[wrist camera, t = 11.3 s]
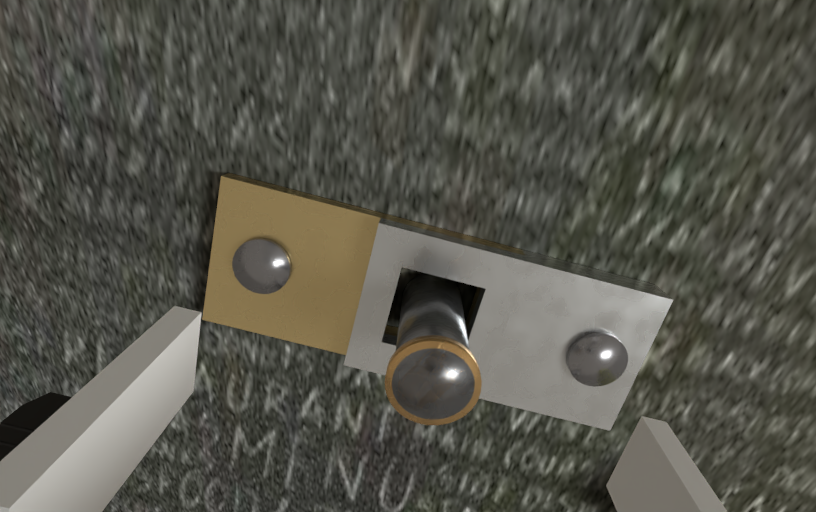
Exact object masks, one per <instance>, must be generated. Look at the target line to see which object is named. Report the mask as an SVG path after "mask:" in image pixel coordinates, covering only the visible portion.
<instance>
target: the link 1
mask: <svg viewBox="0 0 816 512" xmlns="http://www.w3.org/2000/svg"><path fill="white" fill-rule="evenodd" d="M381 218H383V219H387V220H391V221H395V222H399V223H403V224H406V225H410V226H414V227H418V228H422V229H425V230H429V231H433V232H437V233H441V234H445V235H448V236H452V237H456V238H460V239H464V240H468V241H471V242H475V243H479V244H483V245H487V246H490V247H494V248H498V249H502V250H506V251H510V252H513V253H517V254H521V255H525V254H524V252H523V251H522V249H518V248H514V247H510V246H507V245H503V244H499V243H495V242H491V241H488V240H484V239H480V238H476V237H472V236H468V235H465V234H461V233H457V232H453V231H449V230H446V229H442V228H438V227H434V226H430V225H426V224H423V223H419V222H415V221H411V220H407V219H404V218H400V217H396V216H392V215H388V214H384V213H381V212H377V211H373V210H369V209H365V208H362V207H358V206H354V205H350V204H346V203H342V202H339V201H335V200H331V199H327V198H323V197H320V196H316V195H312V194H308V193H304V192H300V191H297V190H293V189H289V188H285V187H281V186H278V185H274V184H270V183H266V182H262V181H258V180H255V179H251V178H247V177H243V176H239V175H236V174H232V173H227V174H225V175H222V176H221V180H220V188H219V196H218V203H217V211H216V218H215V226H214V234H213V241H212V249H211V257H210V264H209V272H208V280H207V287H206V295H205V302H204V310H203V318H202V320H206V321H210V322H214V323H218V324H222V325H226V326H230V327H235V328H239V329H243V330H247V331H251V332H255V333H259V334H263V335H267V336H271V337H275V338H279V339H283V340H287V341H291V342H295V343H299V344H303V345H307V346H311V347H315V348H319V349H323V350H328V351H332V352H336V353H340V354H344V355H346V354H347V350H348V346H349V342H350V337H351V333H352V329H353V325H354V321H355V317H356V313H357V309H358V305H359V301H360V297H361V293H362V289H363V285H364V281H365V277H366V273H367V269H368V265H369V261H370V257H371V253H372V249H373V245H374V241H375V237H376V233H377V228H378V224H379V221H380V219H381ZM480 290H481V287H477V289H476V292H475V295H474V298H473V301H472V304H471V307H470V310H469V313H468V316H467V319H466V322H465V324H466V331H467V329H468V326H469V323H470V320H471V317H472V314H473V311H474V308H475V305H476V302H477V299H478V296H479V293H480ZM384 333H386V334H389V335H393V336H398V328H397V327H393V326H389V325H386V327H385V331H384Z"/></svg>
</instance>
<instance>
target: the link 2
mask: <svg viewBox="0 0 816 512" xmlns="http://www.w3.org/2000/svg"><path fill="white" fill-rule="evenodd" d="M522 251H523V252H524V254H525V255H521V254H517V253H513V252H510V251H506V250H502V249H498V248H494V247H490V246H487V245H483V244H479V243H475V242H471V241H468V240H464V239H460V238H456V237H452V236H448V235H445V234H441V233H437V232H433V231H429V230H425V229H422V228H418V227H414V226H410V225H406V224H403V223H399V222H395V221H391V220H387V219H383V218H381V219H380V221H379V224H378V228H377V233H376V237H375V241H374V245H373V249H372V253H371V257H370V261H369V265H368V269H367V273H366V277H365V281H364V285H363V289H362V293H361V297H360V301H359V305H358V309H357V313H356V317H355V321H354V325H353V329H352V333H351V337H350V342H349V346H348V350H347V354H346V358H345V362H344V365H346V366H350V367H354V368H358V369H362V370H366V371H370V372H374V373H378V374H382V375H386V370H387V366H388V363H389V360H390V358H391V357H392V355H393V354H394V352H395V351H396V344H397V336H393V335H389V334H386V333H384V331H385V327H386V323H387V320H388V316H389V312H390V309H391V305H392V301H393V298H394V294H395V290H396V287H397V283H398V279H399V276H400V272H401V268H402V267H403V268H407V269H411V270H415V271H419V272H423V273H427V274H430V275H434V276H438V277H442V278H446V279H450V280H454V281H458V282H462V283H465V284H469V285H473V286H477V287H481V290H480V293H479V296H478V299H477V302H476V305H475V308H474V311H473V314H472V317H471V320H470V323H469V326H468V329H467V337H468V343H469V349H470V351H471V353H472V354H473V355H474V357H475V359H476V360H477V363H478V365H479V369H480V375H481V380H482V387H481V393H480V396H479V398H480V399H484V400H488V401H492V402H496V403H500V404H504V405H508V406H512V407H516V408H520V409H524V410H528V411H532V412H536V413H540V414H545V415H549V416H553V417H557V418H561V419H565V420H569V421H573V422H577V423H581V424H585V425H589V426H593V427H597V428H601V429H605V430H609V431H610V430H611V428H612V426H613V423H614V421H615V419H616V417H617V415H618V413H619V411H620V409H621V407H622V405H623V403H624V401H625V399H626V397H627V395H628V392H629V390H630V388H631V386H632V384H633V382H634V380H635V378H636V376H637V374H638V372H639V370H640V368H641V366H642V364H643V361H644V359H645V357H646V355H647V353H648V351H649V349H650V347H651V345H652V343H653V341H654V339H655V337H656V335H657V333H658V330H659V328H660V326H661V324H662V322H663V320H664V318H665V316H666V314H667V312H668V310H669V308H670V306H671V304H672V302H673V299H672V298H671V297H669V296H668V295H667V294H666V293H665V292H663V291H662V290H661V289H660V288H659V287H658V286H656V285H655V284H652V283H648V282H644V281H640V280H636V279H633V278H629V277H625V276H621V275H617V274H614V273H610V272H606V271H602V270H598V269H594V268H591V267H587V266H583V265H579V264H575V263H572V262H568V261H564V260H560V259H556V258H552V257H549V256H545V255H541V254H537V253H533V252H530V251H526V250H522Z"/></svg>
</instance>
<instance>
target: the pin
mask: <svg viewBox="0 0 816 512" xmlns="http://www.w3.org/2000/svg"><path fill="white" fill-rule="evenodd" d="M481 387H482V380H481V375H480V369H479V365H478V363H477V360H476V359H475V357H474V355H473V354H472V353H471V351H470V349H469V343H468V337H467V331H466V324H465V318H464V312H463V306H462V299H461V294H460V291H459V288H458V286H457V285H456V284H455V282H454V281H453V280H450V279H446V278H442V277H438V276H434V275H430V274H427V273H424V274H421V275H418V276H416V277H415V278H413V279H412V280H411V281H410V282H409V283H408V284H407V286H406V287H405V289H404V292H403V296H402V304H401V312H400V320H399V328H398V336H397V344H396V351H395V352H394V354H393V355H392V357H391V358H390V360H389V363H388V366H387V370H386V377H385V390H386V394H387V396H388V399H389V401H390V402H391V404H392V405H393V407H394V408H395V409H396V410H397V411H398V412H399V413H400V414H401V415H403V416H404V417H406V418H408V419H409V420H412V421H414V422H417V423H420V424H426V425H442V424H447V423H451V422H453V421H456V420H458V419H460V418H462V417H463V416H465V415H466V414H467V413H468V412H469V411H470V410H471V409H472V408H473V407H474V406H475V404H476V403H477V401H478V399H479V396H480V393H481Z"/></svg>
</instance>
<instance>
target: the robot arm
mask: <svg viewBox="0 0 816 512" xmlns="http://www.w3.org/2000/svg"><path fill="white" fill-rule="evenodd" d="M200 321H201V312H198V311H194V310H190V309H185V308H181V307H177V306H174V307H173V308H172V309H171V310H170V311H168V312H167V313H166V314H165V315H164V316H163V317H162V318H161V319H160V320H158V321H157V322H156V323H155V324H154V325H153V326H152V327H151V328H149V329H148V330H147V331H146V332H145V333H144V334H143V335H142V336H140V337H139V338H138V339H137V340H136V341H135V342H134V343H133V344H131V345H130V346H129V347H128V348H127V349H126V350H125V351H124V352H122V353H121V354H120V355H119V356H118V357H117V358H116V359H115V360H113V361H112V362H111V363H110V364H109V365H108V366H107V367H106V368H104V369H103V370H102V371H101V372H100V373H99V374H98V375H97V376H95V377H94V378H93V379H92V380H91V381H90V382H89V383H88V384H86V385H85V386H84V387H83V388H82V389H81V390H80V391H79V392H77V393H76V394H75V395H74V396H73V397H69V396H65V395H60V394H56V393H51V392H50V393H48V394H46V395H43V396H41V397H39V398H37V399H35V400H32V401H30V402H28V403H26V404H24V405H22V406H21V407H19V408H18V409H17V410H16V411H14V412H13V413H12V414H11V415H9V416H8V417H7V418H6V419H4V420H3V421H2V422H1V424H0V512H102V511H103V510H104V508H105V507H106V506H107V504H108V503H109V502H110V500H111V499H112V498H113V496H114V495H115V494H116V492H117V491H118V490H119V488H120V487H121V486H122V484H123V483H124V482H125V481H126V479H127V478H128V477H129V475H130V474H131V473H132V471H133V470H134V469H135V467H136V466H137V465H138V463H139V462H140V461H141V459H142V458H143V457H144V456H145V454H146V453H147V452H148V450H149V449H150V448H151V446H152V445H153V444H154V442H155V441H156V440H157V438H158V437H159V436H160V434H161V433H162V432H163V430H164V429H165V428H166V427H167V425H168V424H169V423H170V421H171V420H172V419H173V417H174V416H175V415H176V413H177V412H178V411H179V409H180V408H181V407H182V405H183V404H184V403H185V402H186V400H187V399H188V398H189V396H190V395H191V394H192V392H193V390H194V381H195V371H196V361H197V351H198V341H199V331H200ZM606 487H607V489H608V491H609V494H610V496H611V498H612V501H613V503H614V505H615V508H616V510H617V512H727V511H726V509H725V508H724V506H723V505H722V503H721V502H720V500H719V499H718V497H717V496H716V494H715V493H714V491H713V490H712V489H711V487H710V486H709V484H708V483H707V481H706V480H705V478H704V477H703V475H702V474H701V472H700V471H699V469H698V468H697V466H696V465H695V464H694V462H693V461H692V459H691V458H690V456H689V455H688V453H687V452H686V450H685V449H684V447H683V446H682V444H681V443H680V442H679V440H678V439H677V437H676V436H675V434H674V433H673V431H672V430H671V428H670V427H669V425H668V424H667V422H664V421H660V420H655V419H651V418H647V417H643V416H641V418H640V420H639V422H638V424H637V426H636V428H635V430H634V432H633V434H632V436H631V438H630V440H629V442H628V444H627V446H626V448H625V450H624V452H623V453H622V455H621V457H620V459H619V461H618V463H617V465H616V467H615V469H614V471H613V473H612V475H611V477H610V479H609V481H608V483H607V485H606Z"/></svg>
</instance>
